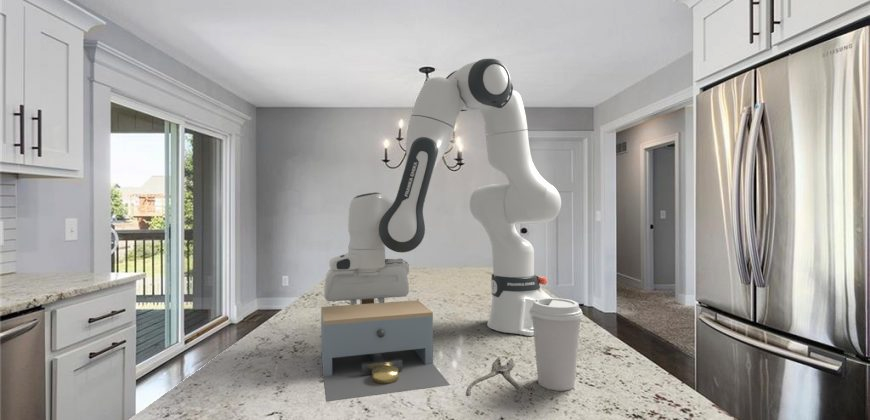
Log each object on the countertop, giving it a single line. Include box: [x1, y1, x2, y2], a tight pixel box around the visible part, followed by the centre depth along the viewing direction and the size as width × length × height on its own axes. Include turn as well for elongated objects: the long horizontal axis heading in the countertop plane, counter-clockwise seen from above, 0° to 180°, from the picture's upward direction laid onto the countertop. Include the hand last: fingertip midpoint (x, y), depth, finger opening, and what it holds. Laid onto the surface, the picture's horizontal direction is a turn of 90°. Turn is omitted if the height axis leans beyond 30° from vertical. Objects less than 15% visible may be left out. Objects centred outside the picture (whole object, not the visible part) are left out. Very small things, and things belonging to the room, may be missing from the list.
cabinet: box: [320, 299, 434, 377], centre depth 91 cm, size 22×13×11 cm, turn 107°
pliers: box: [466, 356, 523, 403], centre depth 82 cm, size 10×1×20 cm
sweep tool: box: [359, 299, 402, 375], centre depth 94 cm, size 8×23×13 cm, turn 17°
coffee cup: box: [529, 297, 584, 392], centre depth 79 cm, size 10×10×15 cm
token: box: [372, 366, 398, 384], centre depth 81 cm, size 5×5×2 cm
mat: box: [323, 349, 451, 402], centre depth 87 cm, size 22×25×1 cm
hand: (367, 317), depth 103 cm, fingers closed on sweep tool, 3 cm apart
